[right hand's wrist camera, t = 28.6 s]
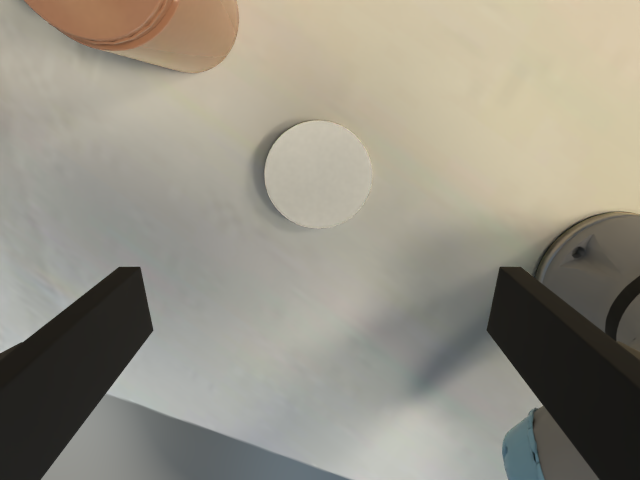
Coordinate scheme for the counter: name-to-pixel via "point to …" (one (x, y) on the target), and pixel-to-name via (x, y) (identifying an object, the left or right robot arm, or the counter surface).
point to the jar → (149, 28)
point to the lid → (318, 174)
